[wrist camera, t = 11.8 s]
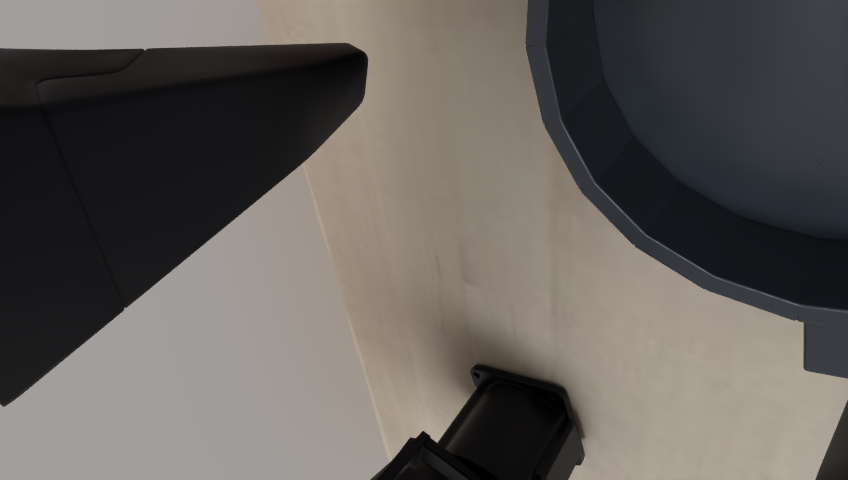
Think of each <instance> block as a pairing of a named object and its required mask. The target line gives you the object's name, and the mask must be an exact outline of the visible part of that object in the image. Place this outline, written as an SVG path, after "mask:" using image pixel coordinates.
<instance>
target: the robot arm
mask: <svg viewBox="0 0 848 480" xmlns="http://www.w3.org/2000/svg"><path fill="white" fill-rule="evenodd" d="M367 68H368V57H367V55H366V53H365V52H364V51H362V50H360V49H358V48H356V47H354V46H353V45H351V44H348V43H324V44H289V45H258V46H257V45H255V46H221V47H187V48H152V49H147V50H144V49H110V50H48V49H47V50H46V49H3V48H0V404H1V405H2V406H6V405H8V404H9V403H11V402H12V401H14V400H15V399H16V398H18V397H19V396H20V395H21V394H23V393H24V392H25V391H26V390H28V389H29V388H30V387H31V386H32V385H34V384H35V383H36V382H37V381H39V380H40V379H41V378H42V377H43V376H45V375H46V374H47V373H48V372H49V371H51V370H52V369H53V368H54V367H56V366H57V365H58V364H59V363H60V362H62V361H63V360H64V359H65V358H66V357H68V356H69V355H70V354H71V353H72V352H74V351H75V350H76V349H77V348H79V347H80V346H81V345H82V344H84V343H85V342H86V341H87V340H88V339H90V338H91V337H92V336H93V335H94V334H95V333H97V332H98V331H99V330H101V329H102V328H103V327H104V326H105V325H107V324H108V323H109V322H110V321H112V320H113V319H114V318H115V317H116V316H118V315H119V314H120V313H121V312H123V310H124V308H126V307H128V306H129V305H130V304H132V303H133V302H134V301H135V300H136V299H138V298H139V297H140V296H142V295H143V294H144V293H145V292H146V291H148V290H149V289H150V288H151V287H152V286H154V285H155V284H156V283H157V282H158V281H160V280H161V279H162V278H163V277H165V276H166V275H167V274H168V273H170V272H171V271H172V270H173V269H174V268H175V267H177V266H178V265H179V264H181V263H182V262H183V261H184V260H185V259H187V258H188V257H189V256H190V255H191V254H193V253H194V252H195V251H196V250H197V249H199V248H200V247H201V246H202V245H204V243H206V242H207V241H208V240H210V239H211V238H212V237H213V236H214V235H216V234H217V233H218V232H219V231H221V230H222V229H223V228H224V227H226V226H227V225H228V224H229V223H230V222H231V221H233V220H234V219H235V218H236V217H238V216H239V215H240V214H241V213H242V212H244V211H245V210H246V209H247V208H249V207H250V206H251V205H252V204H254V203H255V202H256V201H257V200H258V199H260V198H261V197H262V196H263V195H264V194H266V193H267V192H268V191H269V190H271V189H272V188H273V187H274V186H275V185H277V184H278V183H279V182H280V181H281V180H283V179H284V178H285V177H286V176H288V175H289V174H290V173H291V172H292V171H293V170H295V169H296V168H297V167H298V166H300V165H301V164H302V163H303V162H304V161H306V160H307V159H308V158H309V157H310V156H311V155H312V154H313V153H314V152H315V151H316V150H317V149H318V148H319V147H320V146H321V145H322V144H323V143H324V142H325V141H326V140H327V139H328V138H329V137H330V136H331V135H332V134H333V133H334V132H335V131H336V130H337V129H338V128H339V127H340V125H341V124H342V123H343V122H344V121H345V120H346V119H347V118H348V117H349V116H350V115H351V114H352V113H353V112H354V111H355V110H356V109H357V108H358V107H359V106H360V104H361V103H362V101H363V98H364V95H365V87H366V78H367ZM470 373H471V376H472V378H473V381H474V384H475V386H476V390H475V391H474V393H473V394H472V396H471V397H470V398H469V400H468V401H467V403H466V404H465V405H464V407H463V408H462V410H461V411H460V412H459V414H458V415H457V416H456V418H455V419H454V421H453V422H452V423H451V425H450V426H449V428H448V429H447V430H446V432H445V433H444V434H443V436H442V437H441V439H440V440H439V441H438V443H436V442H435V441H434V440H432V439H431V438H430V435H428V434H427V433H425V432H424V431H422V432H421V433H420V435H419V436H418V437H417V438H411V437H410V439H409V440H408V441H407V443H406V444H405V445H404V447H403V448H402V449H401V450H400V452H399V453H398V454H397V455H396V457H395V458H394V459H393V460H392V461H391V462H390V463H389V464H388V465H386V466H385V467H384V468H383V469H382V470H381V471H380V472H379V473H377V474H376V475H375V476H374V477H373V478H372V479H371V480H568V479H569V477H570V475H571V473H572V471H573V469H574V467H575V465H581V464H582V462H583V460H584V456H583V452H582V446H581V443H580V439H579V435H578V432H577V428H576V424H575V422H574V419H573V416H572V412H571V408H570V405H569V401H568V398H567V394H566V392H565V391H564V390H563V389H562V388H560V387H558V386H555V385H551V384H547V383H543V382H540V381H536V380H532V379H528V378H525V377H521V376H517V375H514V374H510V373H506V372H502V371H499V370H495V369H491V368H487V367H484V366H480V365H474V366H473V368H472V369H471V371H470ZM816 480H848V401H847V403H846V406H845V408H844V410H843V413H842V415H841V418H840V420H839V423H838V425H837V428H836V430H835V432H834V435H833V437H832V440H831V442H830V445H829V447H828V449H827V452H826V454H825V457H824V459H823V462H822V464H821V467H820V469H819V472H818V474H817V477H816Z"/></svg>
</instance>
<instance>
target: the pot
mask: <svg viewBox="0 0 848 480" xmlns="http://www.w3.org/2000/svg"><path fill="white" fill-rule="evenodd" d="M526 45H527V46H526V50H527V55H528V59H529V63H530V68H531V72H532V77H533V81H534V85H535V90H536V94H537V98H538V103H539V107H540V112H541V116H542V120H543V124H545V128H546V130H547V131H548V133H549V135H550V137H551V139H552V140H553V142H554V144H555V146H556V148H557V149H558V151H559V153H560V155H561V157H562V158H563V160H564V162H565V164H566V166H567V167H568V169H569V171H570V173H571V175H572V176H573V178H574V180H575V182H576V184H577V185H578V187H579V189H580V190H581V192H582V193H583V194H584V195H585V196H586V197H587V198H588V199H589V200H590V201H591V202H592V203H593V204H594V205H595V206H596V207H597V208H598V209H599V210H600V211H601V212H602V213H603V215H604V216H605V217H606V218H607V219H608V220H609V221H610V222H611V223H612V224H613V225H614V226H615V227H616V228H617V229H618V230H619V231H620V232H621V233H622V234H623V235H624V236H625V237H626V238H627V239H628V240H629V241H630V242H631V243H632V244H633V245H635V247H637V248H638V249H640V250H641V251H643V252H645V253H646V254H648V255H650V256H651V257H653V258H654V259H656V260H658V261H659V262H661V263H662V264H664V265H666V266H667V267H669V268H671V269H672V270H674V271H675V272H677V273H679V274H680V275H682V276H684V277H685V278H687V279H688V280H690V281H692V282H693V283H695V284H697V285H698V286H700V287H701V288H703V289H706V290H708V291H710V292H713V293H716V294H719V295H722V296H725V297H728V298H731V299H733V300H736V301H739V302H742V303H745V304H748V305H751V306H754V307H756V308H759V309H762V310H765V311H768V312H771V313H774V314H777V315H779V316H782V317H785V318H788V319H791V320H794V321H795V320H797V321H799V322H804V369H805V370H806V371H810V372H815V373H821V374H826V375H831V376H837V377H842V378H847V379H848V0H528V12H527V30H526Z"/></svg>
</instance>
